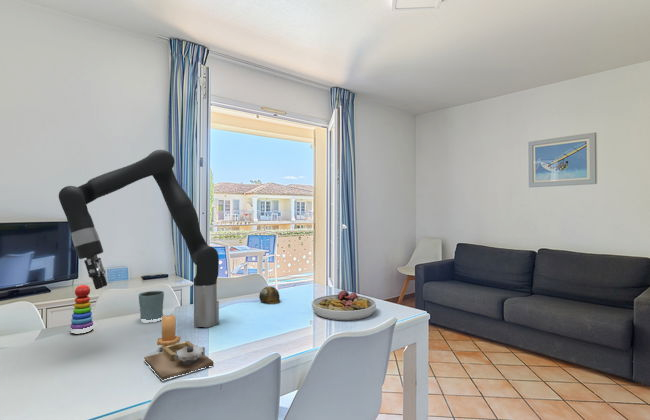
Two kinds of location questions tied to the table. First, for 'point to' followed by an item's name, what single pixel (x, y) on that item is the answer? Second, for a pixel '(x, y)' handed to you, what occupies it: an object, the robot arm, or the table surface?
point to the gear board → (178, 360)
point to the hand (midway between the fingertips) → (101, 287)
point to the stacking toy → (82, 308)
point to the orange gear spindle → (168, 331)
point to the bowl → (343, 306)
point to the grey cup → (151, 304)
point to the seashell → (269, 295)
